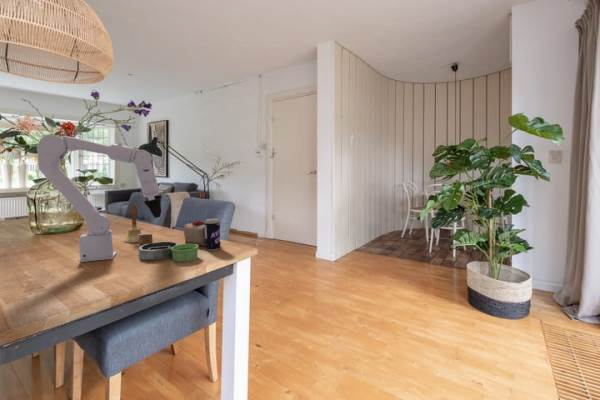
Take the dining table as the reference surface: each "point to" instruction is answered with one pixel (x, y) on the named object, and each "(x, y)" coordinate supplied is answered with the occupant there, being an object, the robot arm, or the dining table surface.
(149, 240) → the tan wooden block
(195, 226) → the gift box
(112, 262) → the dining table surface
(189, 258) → the ramekin
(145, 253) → the grey metal bowl
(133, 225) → the hand bell
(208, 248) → the beverage can
